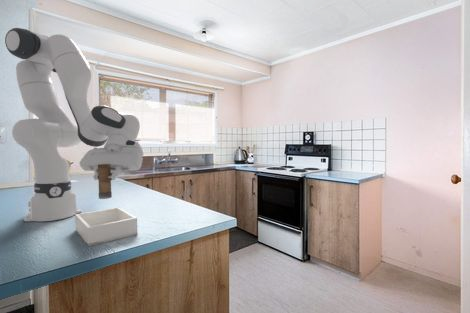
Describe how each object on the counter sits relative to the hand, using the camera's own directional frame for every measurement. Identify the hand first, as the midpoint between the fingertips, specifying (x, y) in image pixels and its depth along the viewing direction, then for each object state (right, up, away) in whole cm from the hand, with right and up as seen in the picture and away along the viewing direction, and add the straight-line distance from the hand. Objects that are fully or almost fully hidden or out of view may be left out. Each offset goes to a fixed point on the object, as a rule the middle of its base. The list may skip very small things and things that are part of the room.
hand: (103, 179), depth 80 cm
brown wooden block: (0, -6, +1) cm, 6 cm away
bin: (0, -18, +2) cm, 18 cm away
